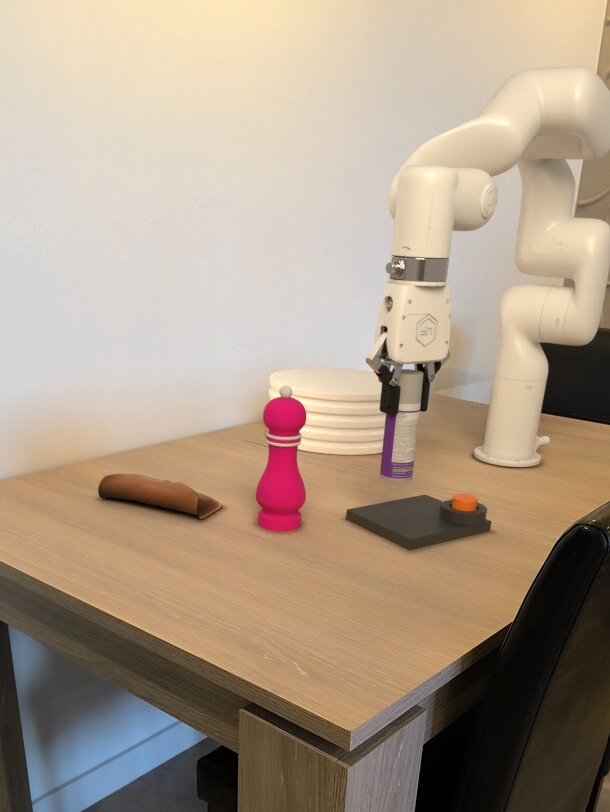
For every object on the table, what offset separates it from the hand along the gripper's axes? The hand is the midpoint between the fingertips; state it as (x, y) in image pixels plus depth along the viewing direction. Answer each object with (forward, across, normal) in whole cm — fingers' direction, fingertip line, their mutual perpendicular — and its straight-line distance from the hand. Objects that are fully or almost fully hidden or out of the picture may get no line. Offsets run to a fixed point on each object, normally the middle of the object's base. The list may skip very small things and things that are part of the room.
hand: (403, 410), depth 116 cm
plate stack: (+17, +25, +46) cm, 55 cm away
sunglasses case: (+17, -26, +24) cm, 39 cm away
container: (+10, 0, 0) cm, 10 cm away
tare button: (+14, +8, -7) cm, 17 cm away
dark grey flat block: (+17, +3, -2) cm, 17 cm away
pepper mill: (+17, -15, +8) cm, 24 cm away
